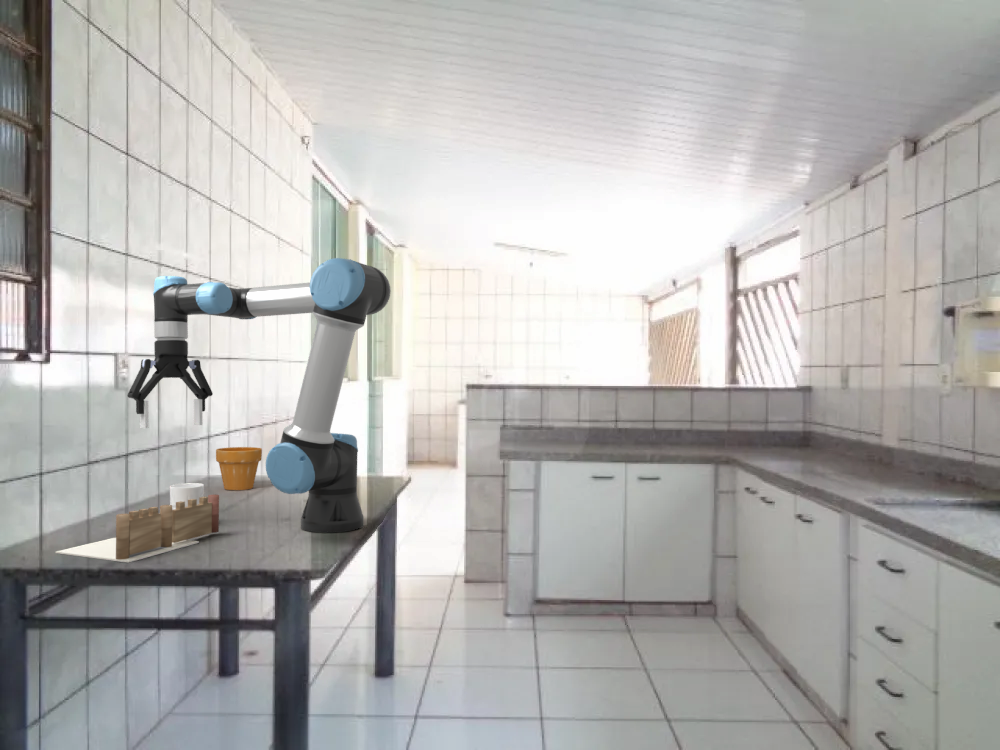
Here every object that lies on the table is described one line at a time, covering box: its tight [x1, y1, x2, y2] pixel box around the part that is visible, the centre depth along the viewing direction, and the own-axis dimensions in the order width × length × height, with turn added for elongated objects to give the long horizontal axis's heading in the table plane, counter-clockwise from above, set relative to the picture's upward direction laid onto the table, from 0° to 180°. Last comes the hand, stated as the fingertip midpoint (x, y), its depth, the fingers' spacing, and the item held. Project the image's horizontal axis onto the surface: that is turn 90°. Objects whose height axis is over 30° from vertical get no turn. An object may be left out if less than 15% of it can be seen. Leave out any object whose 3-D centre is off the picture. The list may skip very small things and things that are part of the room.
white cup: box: [169, 482, 205, 510], centre depth 182 cm, size 8×8×10 cm
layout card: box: [54, 536, 200, 563], centre depth 159 cm, size 20×19×1 cm
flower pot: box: [215, 446, 263, 491], centre depth 243 cm, size 14×14×13 cm
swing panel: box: [172, 493, 220, 543], centre depth 167 cm, size 2×13×8 cm, turn 159°
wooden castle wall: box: [115, 504, 172, 560], centre depth 154 cm, size 2×14×9 cm, turn 159°
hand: (172, 426), depth 182 cm, fingers open, 13 cm apart
